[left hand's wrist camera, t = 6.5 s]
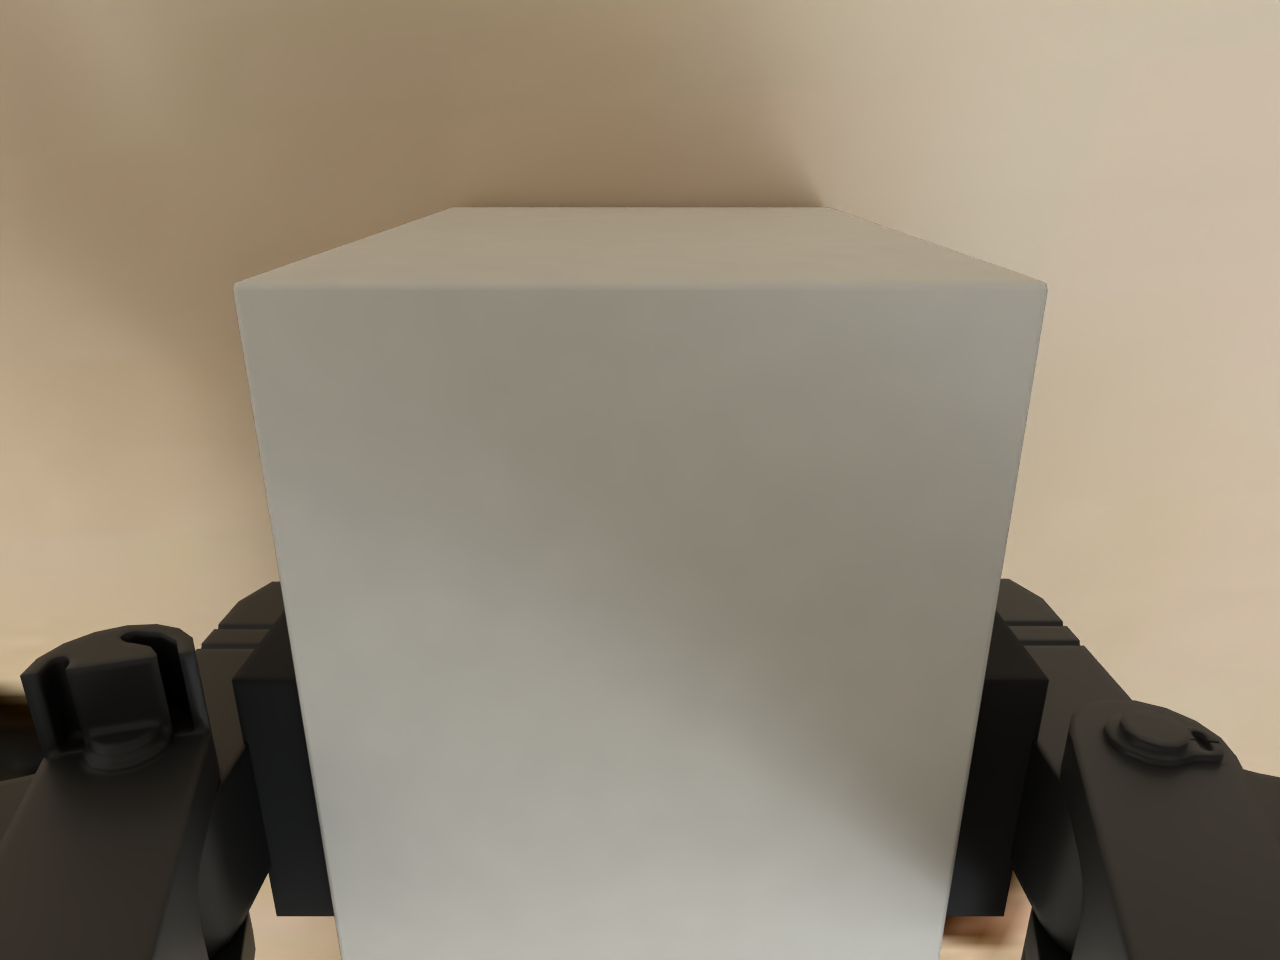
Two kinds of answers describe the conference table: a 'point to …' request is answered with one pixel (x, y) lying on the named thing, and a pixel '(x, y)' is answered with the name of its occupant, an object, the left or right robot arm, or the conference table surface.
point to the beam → (640, 573)
